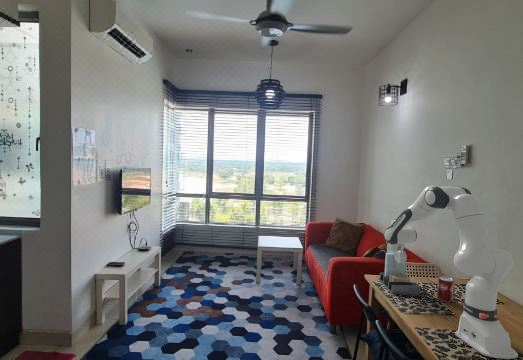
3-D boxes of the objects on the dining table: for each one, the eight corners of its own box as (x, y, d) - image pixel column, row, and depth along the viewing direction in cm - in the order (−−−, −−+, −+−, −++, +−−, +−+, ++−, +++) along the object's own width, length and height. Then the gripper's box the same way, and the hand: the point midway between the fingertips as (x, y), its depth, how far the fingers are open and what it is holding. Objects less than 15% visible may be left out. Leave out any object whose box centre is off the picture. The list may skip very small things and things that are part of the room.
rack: (420, 295, 175) (420, 286, 175) (391, 293, 175) (392, 285, 175) (403, 280, 197) (403, 272, 196) (378, 279, 197) (378, 271, 197)
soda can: (448, 297, 173) (449, 276, 172) (454, 303, 166) (456, 281, 165) (434, 296, 174) (436, 275, 173) (440, 302, 166) (442, 280, 166)
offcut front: (409, 288, 181) (410, 278, 181) (392, 287, 181) (393, 277, 181) (407, 286, 184) (408, 277, 183) (391, 286, 184) (391, 276, 184)
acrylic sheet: (405, 280, 190) (406, 255, 189) (385, 279, 190) (387, 254, 189) (403, 278, 192) (404, 253, 191) (384, 278, 193) (385, 253, 192)
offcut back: (407, 285, 185) (407, 276, 184) (390, 285, 185) (390, 275, 185) (405, 284, 187) (405, 274, 187) (388, 283, 188) (389, 274, 187)
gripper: (409, 249, 179) (408, 272, 180) (395, 240, 200) (394, 261, 201) (398, 249, 180) (397, 272, 180) (385, 240, 200) (384, 261, 201)
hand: (395, 266), depth 191 cm, fingers closed on acrylic sheet, 2 cm apart
